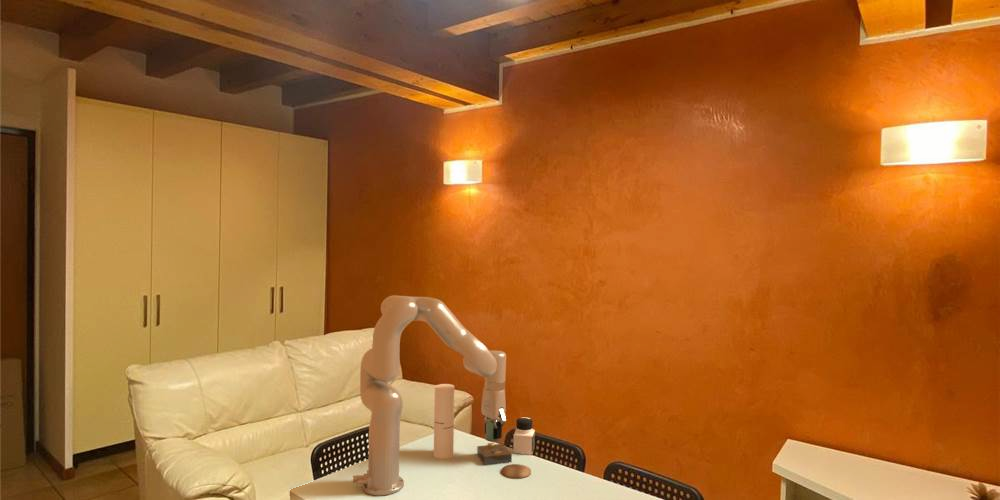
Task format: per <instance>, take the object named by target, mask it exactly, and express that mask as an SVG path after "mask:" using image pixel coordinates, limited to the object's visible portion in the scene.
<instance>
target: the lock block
mask: <svg viewBox="0 0 1000 500" xmlns="http://www.w3.org/2000/svg"><path fill="white" fill-rule="evenodd" d="M476 449H477V451H476V453H477V454H476V455H477V456H478V458H479V459H480V461H481V463H482V464H483V465H484V466H492V465H499V464H501V463H502V464H508V463H509V462H511V463H512V461H513V460H512V456H513V454H512V452H510V450H509V449H508V448H507V447H506V445H505V443H496V444H495V442H490V443H489V442H488V443H487V445H477V446H476ZM502 464H501V465H502ZM509 464H510V463H509Z"/></svg>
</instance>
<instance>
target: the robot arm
mask: <svg viewBox="0 0 1000 500" xmlns="http://www.w3.org/2000/svg"><path fill="white" fill-rule="evenodd" d="M380 311H381V314H382V315H381V316H380V317H379V319H377V320H378V321H377V322H376V323H375V326H374V328H373V333H372V345H371V348H370V349H368V350H367V351H366V352H365V353H364V354H363V356H362V359H361V362H360V373H359V375H360V377H359V378H360V381H359V384H360V385H359V386H360V389H359V393H360V400H361V402H362V404H363V405H364V407H366V408H367V409H368V410H369V411H370V412H371V416H370V421H369V427H368V458H367V459H368V460H367V461H368V469H366V472H365V473H363V474H360V475H359V474H358V475H357V474H356V475H355V474H354V475H352V480H353V481H352V482H353V483H357V484H356V485H362V490H363V492H365V493H366V494H368V495H372V496H388V495H392V494H395V493H398V492H399V491H401V489H403V488H404V485H405V480H404V479H403V478H402V477H401V476H400V440H401V439H400V434H401V430H400V429H401V418H402V412H403V406H404V405H403V403H404V402H403V397H402V395H401V393H400V392H399V390H398V389H396V388H395V387H393V386H392V385H390V384H389V383H391V382H393V381H395V380H396V378H398V375H399V374H400V359H401V358H400V357H401V356H400V352H401V351H400V350H401V348H400V343H401V336H402V333H403V331H404V330H405V329H406V327H407V326H408V325H409V324H410V323H411V322H413V321H415V322H417V321H419V322H420V321H421V322H423V323H424V322H425V323H427V324H428V326H429V327H430V328H431V329H432V330H433V331H434V332H435V334H436V335H437V336H438V337H439V338H440V340H441V341H442V342H443V343H444V344H445V345H446V346H448V348H451V349H452V350H453V351H456V352H457V353H459V354H460V355H462V356H463V358H462V365H463V367H464V368H465V369H466V370H467V371H468V372H471V373H473V374H476V375H477V376H481V377H482V378H483V377H484V386H483V392H482V396H481V406H480V407H481V409H480V412H481V415H483V418H484V434H485V435H486V419H487V418H490V419H492V420H494V425H495V428H493V439H500V440H501V438H502V433H503V427H504V425H505V424H506V422H507V419H506V409H507V406H506V405H507V404H506V375H507V374H506V373H507V354H506V352H504V351H503V350H495V349H494V350H489V349H488V347H487V346H486V345H485V344H484V343H483V342H482V341H480V340H479V338H477V337H476V336H475V335H473V334H472V333H471V331H469V330H468V329H467V328H466V327H464V326H463V325H464V324H462V323H461V321H460V320H459V319H458V318H457V317H456V316H455V315H454V313H453V312H452V310H450V309H449V307H448V306H447V305H446V304H445V302H443V301H442V300H440V299H438V298H435V297H429V296H408V295H390V296H387V297H386V298H384V299H383V301H382V302H381V304H380ZM497 420H499V422H498V423H497Z"/></svg>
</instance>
